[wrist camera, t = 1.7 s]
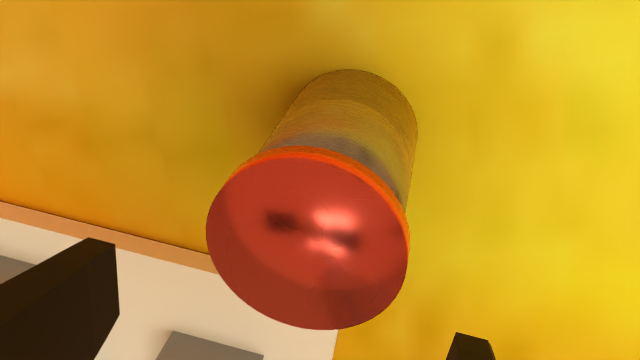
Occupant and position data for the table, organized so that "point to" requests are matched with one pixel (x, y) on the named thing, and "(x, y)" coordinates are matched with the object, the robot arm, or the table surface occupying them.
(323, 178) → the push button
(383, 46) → the table surface
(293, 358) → the socket board
